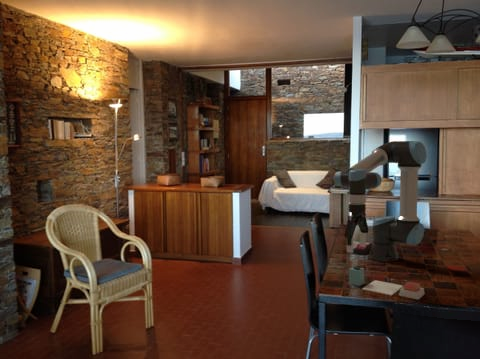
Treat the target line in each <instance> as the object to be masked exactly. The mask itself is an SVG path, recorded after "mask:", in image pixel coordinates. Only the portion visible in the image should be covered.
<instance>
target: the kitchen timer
mask: <svg viewBox="0 0 480 359" xmlns="http://www.w3.org/2000/svg"><path fill="white" fill-rule="evenodd" d="M360 232H361V231H360V228H359V226H358V225H357V226H356V228H355V231H354V234H353V237H352V238H353V241H356V242H360ZM361 233H362V232H361ZM366 243H370V247H372V245H373V241H372V235H371V233H370V232H369V231H368V233H366Z"/></svg>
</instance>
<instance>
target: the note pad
mask: <svg viewBox="0 0 480 359" xmlns="http://www.w3.org/2000/svg"><path fill="white" fill-rule="evenodd" d="M402 287H404V285H401V284H397V283H392V282H387V281H380V280H375V279H374V280H373V281H372V282H370V283H368V284H367V285H365V286H364V287H362V290H363V291H367V292H371V293H378V294H382V295H387V296H390V297H391V296H393V295H394V294H395V293H397V292H398V291H400V289H401V288H402Z"/></svg>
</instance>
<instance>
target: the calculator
mask: <svg viewBox="0 0 480 359" xmlns="http://www.w3.org/2000/svg"><path fill="white" fill-rule="evenodd" d="M370 250H371V246H370V243H366V247H361V246H360V242H356V241H353V253H352V254H356V255H357V254H358V255H366V254H367V253H368V252H369V251H370ZM345 253H349V254H351V253H350V252H347V247H346V252H345Z"/></svg>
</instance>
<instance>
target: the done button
mask: <svg viewBox="0 0 480 359" xmlns="http://www.w3.org/2000/svg"><path fill="white" fill-rule="evenodd" d="M403 287H404V289H407V290H412V291H417V290H418V289H419V288H421V284H420V283H418V282H413V281H407V282H405V283H404V284H403Z"/></svg>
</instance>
